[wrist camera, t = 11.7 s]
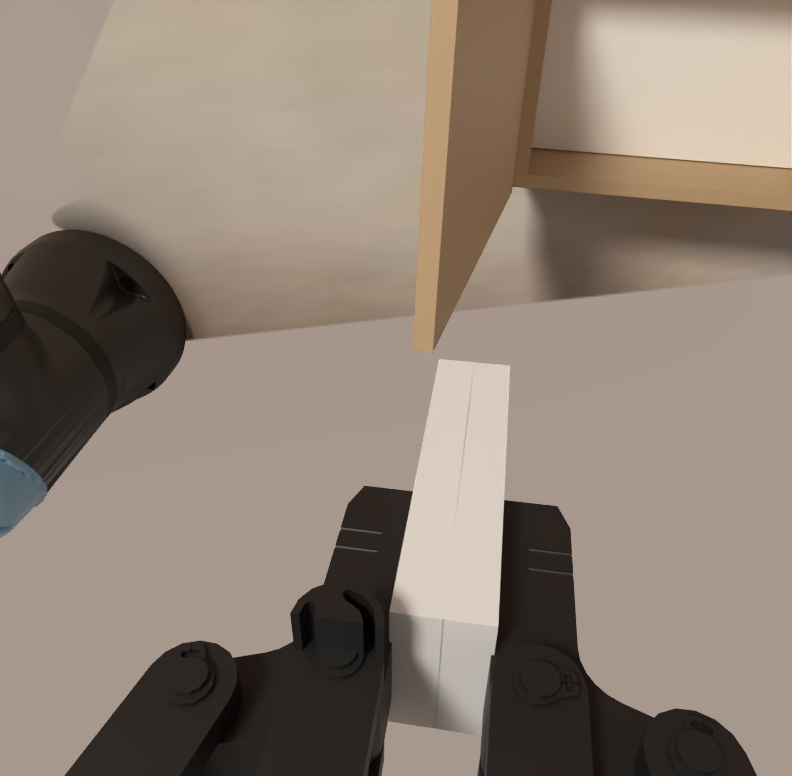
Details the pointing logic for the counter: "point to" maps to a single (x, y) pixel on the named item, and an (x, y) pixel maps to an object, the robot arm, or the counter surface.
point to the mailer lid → (467, 145)
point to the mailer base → (660, 101)
